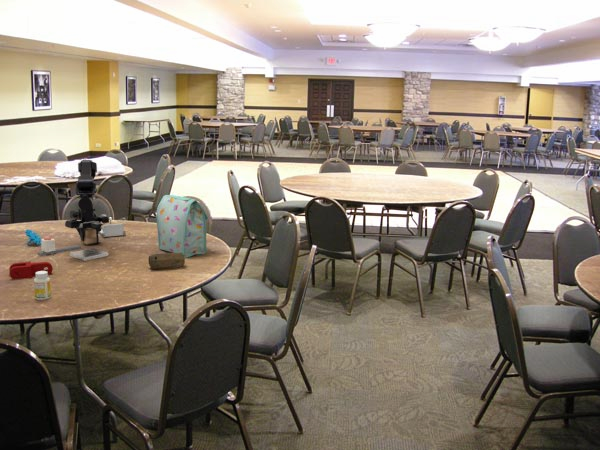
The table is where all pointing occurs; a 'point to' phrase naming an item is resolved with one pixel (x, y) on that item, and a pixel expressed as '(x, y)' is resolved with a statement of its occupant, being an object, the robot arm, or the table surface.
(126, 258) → the table surface
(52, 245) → the white rectangular block
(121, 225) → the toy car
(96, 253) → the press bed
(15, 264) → the mechanical linkage
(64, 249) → the rail
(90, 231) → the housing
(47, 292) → the supplement bottle
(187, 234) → the lunch bag
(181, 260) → the stone weight
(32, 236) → the blue lobed piece
